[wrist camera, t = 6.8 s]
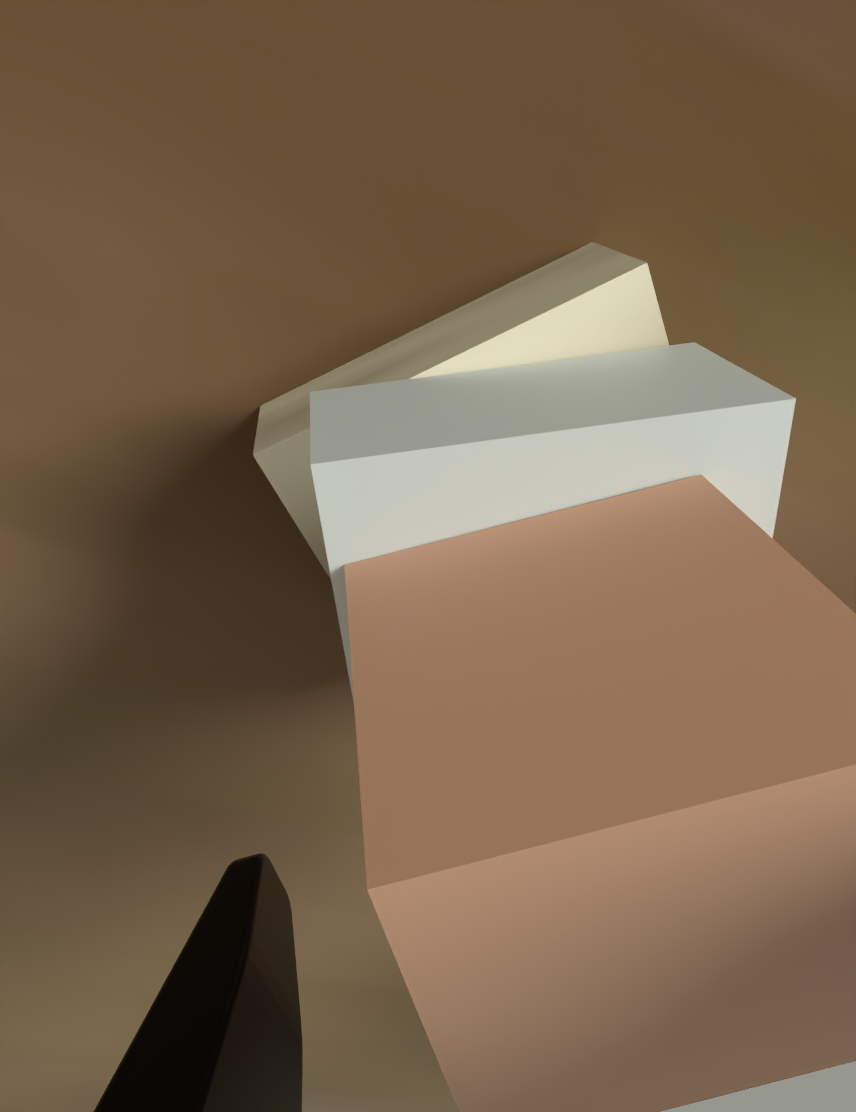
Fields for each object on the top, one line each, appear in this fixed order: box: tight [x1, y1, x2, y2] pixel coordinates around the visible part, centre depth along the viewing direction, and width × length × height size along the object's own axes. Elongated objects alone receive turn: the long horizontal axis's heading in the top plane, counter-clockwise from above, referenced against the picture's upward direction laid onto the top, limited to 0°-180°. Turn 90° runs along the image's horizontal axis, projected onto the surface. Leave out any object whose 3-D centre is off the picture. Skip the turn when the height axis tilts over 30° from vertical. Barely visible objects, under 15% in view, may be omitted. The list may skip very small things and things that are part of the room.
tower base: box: [253, 242, 669, 580], centre depth 15 cm, size 7×7×3 cm
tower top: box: [310, 342, 796, 703], centre depth 13 cm, size 6×6×3 cm
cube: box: [344, 475, 856, 1112], centre depth 9 cm, size 5×5×5 cm
